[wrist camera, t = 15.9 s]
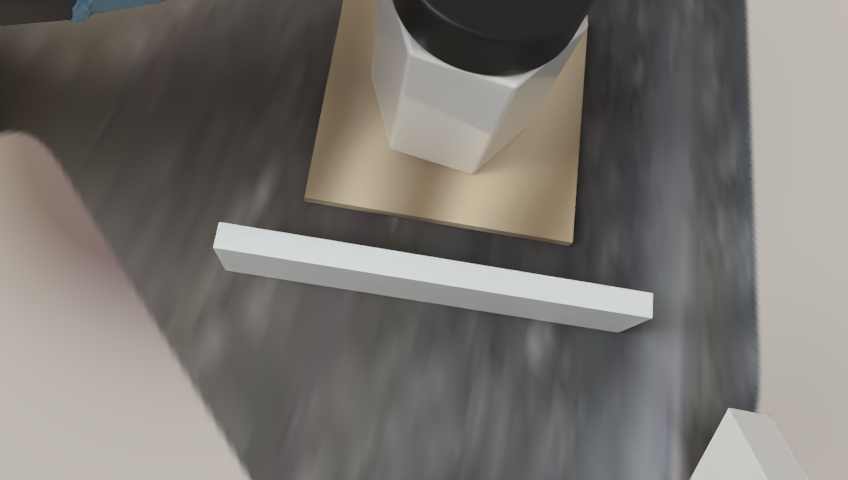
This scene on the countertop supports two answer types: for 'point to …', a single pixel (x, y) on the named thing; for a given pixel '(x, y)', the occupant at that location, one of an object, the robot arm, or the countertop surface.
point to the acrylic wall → (429, 279)
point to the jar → (468, 72)
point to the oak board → (436, 184)
